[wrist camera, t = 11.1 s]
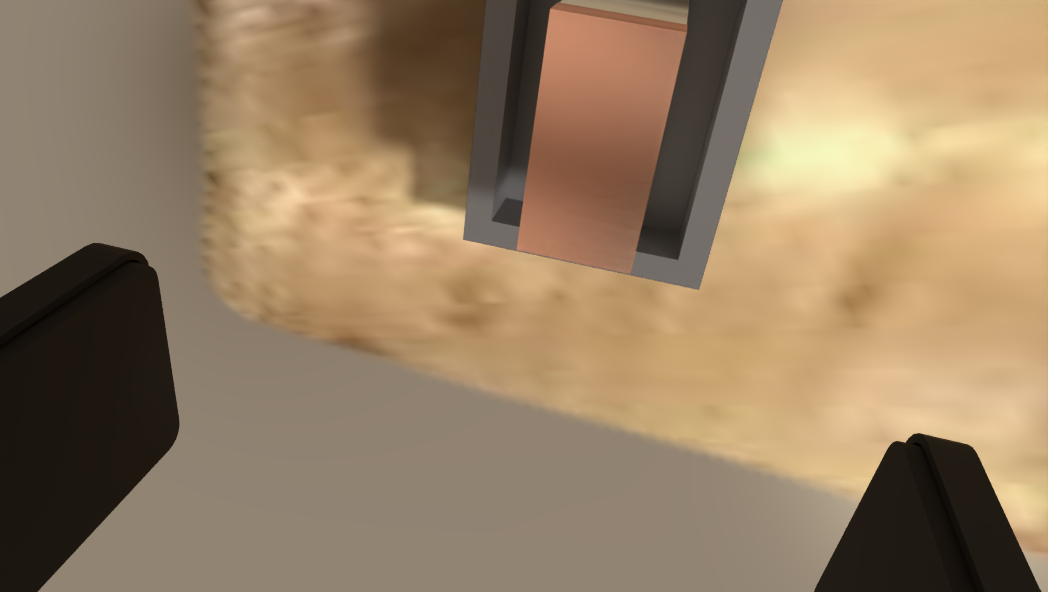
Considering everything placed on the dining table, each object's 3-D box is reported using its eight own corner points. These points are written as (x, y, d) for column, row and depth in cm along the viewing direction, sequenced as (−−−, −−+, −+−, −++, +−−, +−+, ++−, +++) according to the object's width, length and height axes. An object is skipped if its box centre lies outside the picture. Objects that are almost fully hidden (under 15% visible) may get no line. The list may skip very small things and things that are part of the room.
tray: (518, -120, 25) (497, -119, 22) (792, -77, 24) (803, -72, 21) (483, 209, 31) (463, 239, 28) (699, 254, 30) (699, 289, 27)
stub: (586, -22, 25) (549, 8, 19) (690, -5, 25) (686, 32, 19) (555, 172, 29) (516, 249, 23) (645, 190, 28) (630, 274, 22)
